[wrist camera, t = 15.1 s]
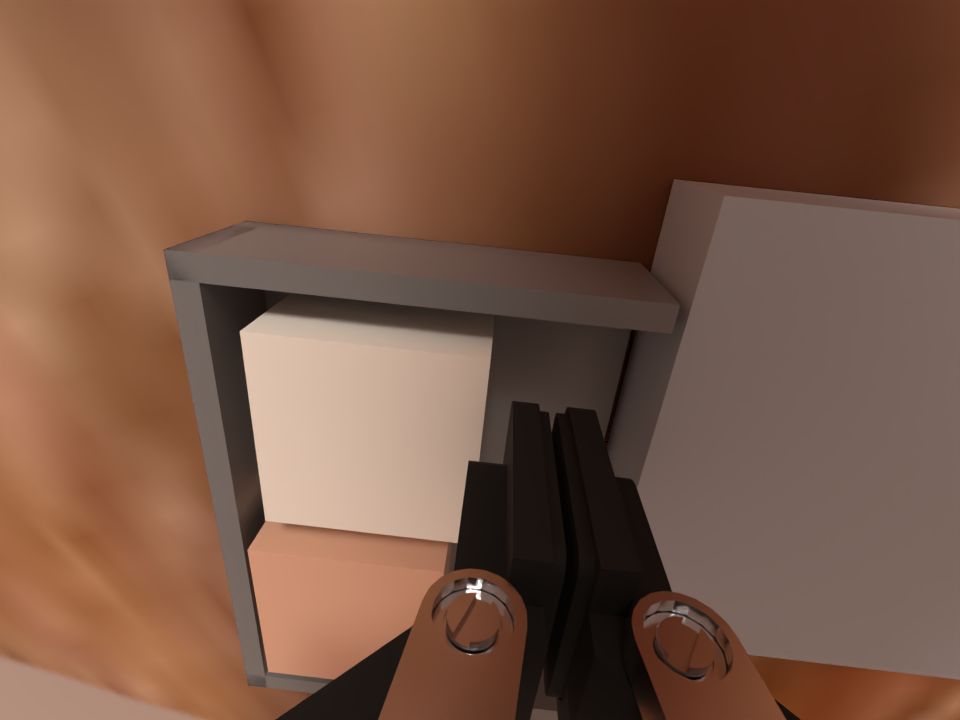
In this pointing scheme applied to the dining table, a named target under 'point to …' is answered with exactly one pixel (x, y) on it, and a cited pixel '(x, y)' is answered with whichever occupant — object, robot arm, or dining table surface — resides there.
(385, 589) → the salmon square block
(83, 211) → the dining table surface
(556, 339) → the tray
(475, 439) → the beige square block
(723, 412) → the slate board
